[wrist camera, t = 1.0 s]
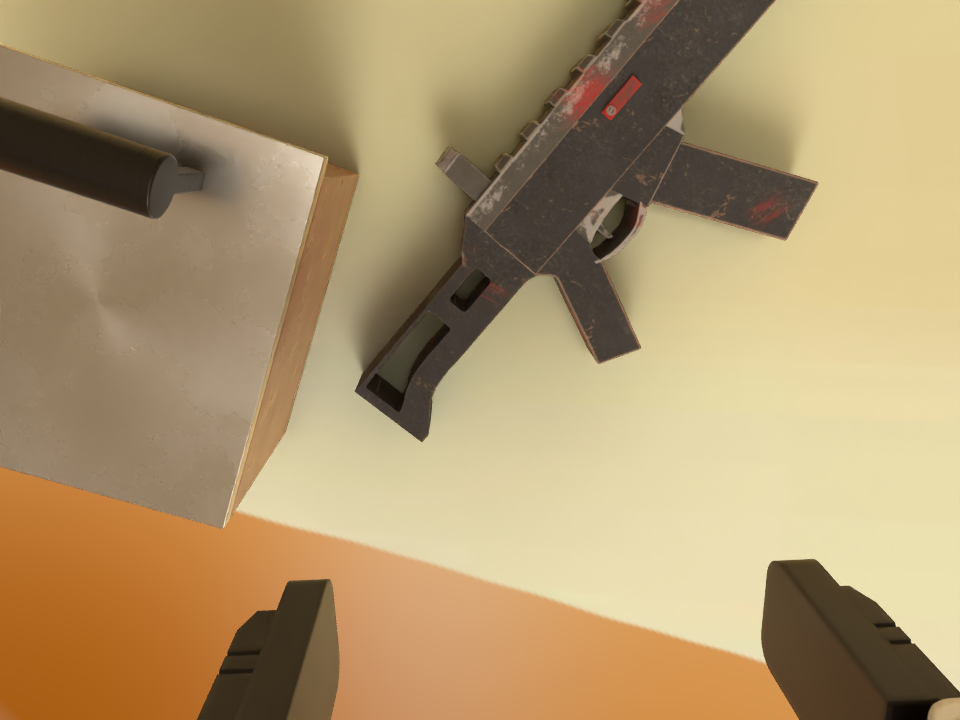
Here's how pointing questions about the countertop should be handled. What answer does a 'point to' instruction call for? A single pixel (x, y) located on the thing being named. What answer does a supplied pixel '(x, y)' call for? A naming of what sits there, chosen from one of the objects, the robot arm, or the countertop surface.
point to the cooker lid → (139, 286)
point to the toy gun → (593, 190)
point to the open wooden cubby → (300, 320)
